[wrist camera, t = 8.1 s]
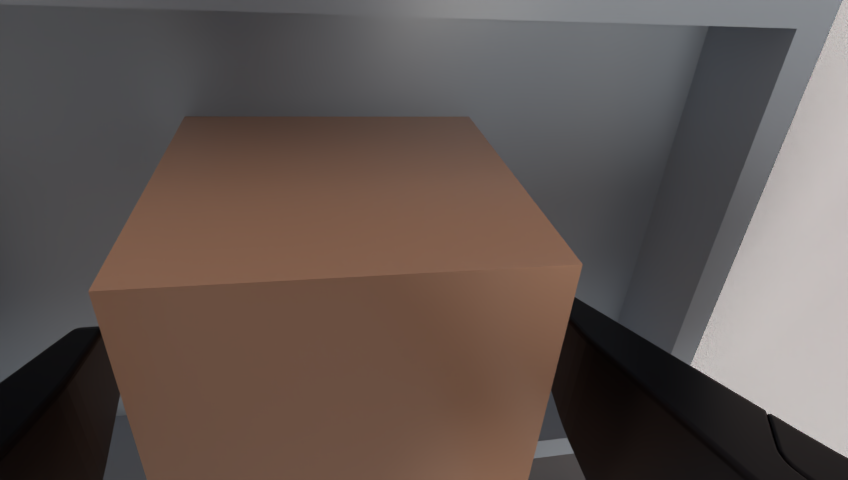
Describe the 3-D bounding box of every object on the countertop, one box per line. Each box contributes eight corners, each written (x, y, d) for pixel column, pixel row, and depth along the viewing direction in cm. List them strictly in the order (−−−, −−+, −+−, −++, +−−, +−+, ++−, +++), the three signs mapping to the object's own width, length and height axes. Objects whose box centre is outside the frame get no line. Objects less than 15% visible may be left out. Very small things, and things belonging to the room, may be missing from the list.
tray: (737, -30, 10) (847, -13, 8) (610, 369, 16) (658, 442, 13) (-246, -82, 7) (-461, -76, 5) (6, 429, 13) (-53, 533, 11)
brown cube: (468, 116, 10) (582, 264, 6) (446, 323, 13) (515, 528, 9) (184, 116, 9) (88, 291, 5) (221, 340, 12) (177, 578, 8)
